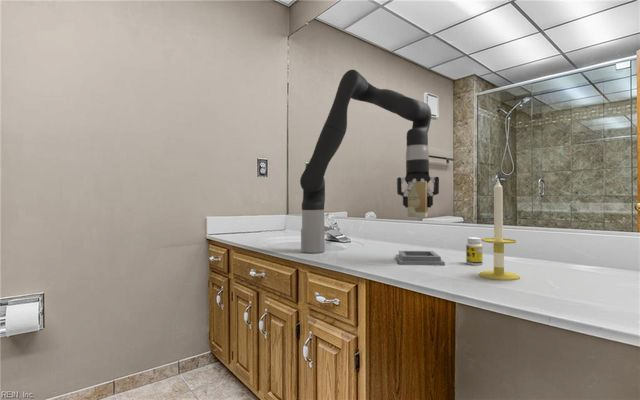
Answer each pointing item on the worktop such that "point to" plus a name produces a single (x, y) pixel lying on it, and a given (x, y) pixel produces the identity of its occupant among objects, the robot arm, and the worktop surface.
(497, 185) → the candle
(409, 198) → the skincare box
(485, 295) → the worktop surface
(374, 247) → the worktop surface
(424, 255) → the gray square tray
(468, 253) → the supplement bottle
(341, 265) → the worktop surface
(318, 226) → the robot arm
